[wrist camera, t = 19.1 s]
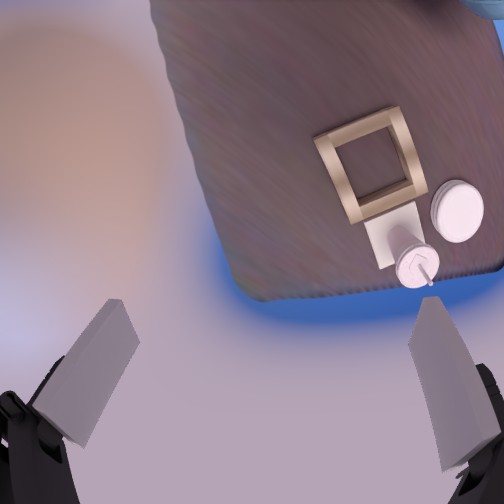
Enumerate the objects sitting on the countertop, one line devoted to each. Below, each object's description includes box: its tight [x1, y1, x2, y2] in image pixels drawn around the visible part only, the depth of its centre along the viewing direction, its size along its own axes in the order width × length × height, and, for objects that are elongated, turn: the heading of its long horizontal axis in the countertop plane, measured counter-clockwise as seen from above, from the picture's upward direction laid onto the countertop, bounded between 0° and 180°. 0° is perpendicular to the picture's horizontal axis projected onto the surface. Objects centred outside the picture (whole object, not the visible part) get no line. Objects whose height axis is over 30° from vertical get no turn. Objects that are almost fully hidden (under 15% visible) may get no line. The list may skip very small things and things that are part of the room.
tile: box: [363, 199, 425, 269], centre depth 41 cm, size 9×9×1 cm
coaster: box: [430, 180, 483, 243], centre depth 36 cm, size 10×10×4 cm
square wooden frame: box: [312, 106, 428, 225], centre depth 35 cm, size 13×13×3 cm
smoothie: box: [387, 226, 439, 288], centre depth 34 cm, size 6×6×14 cm
